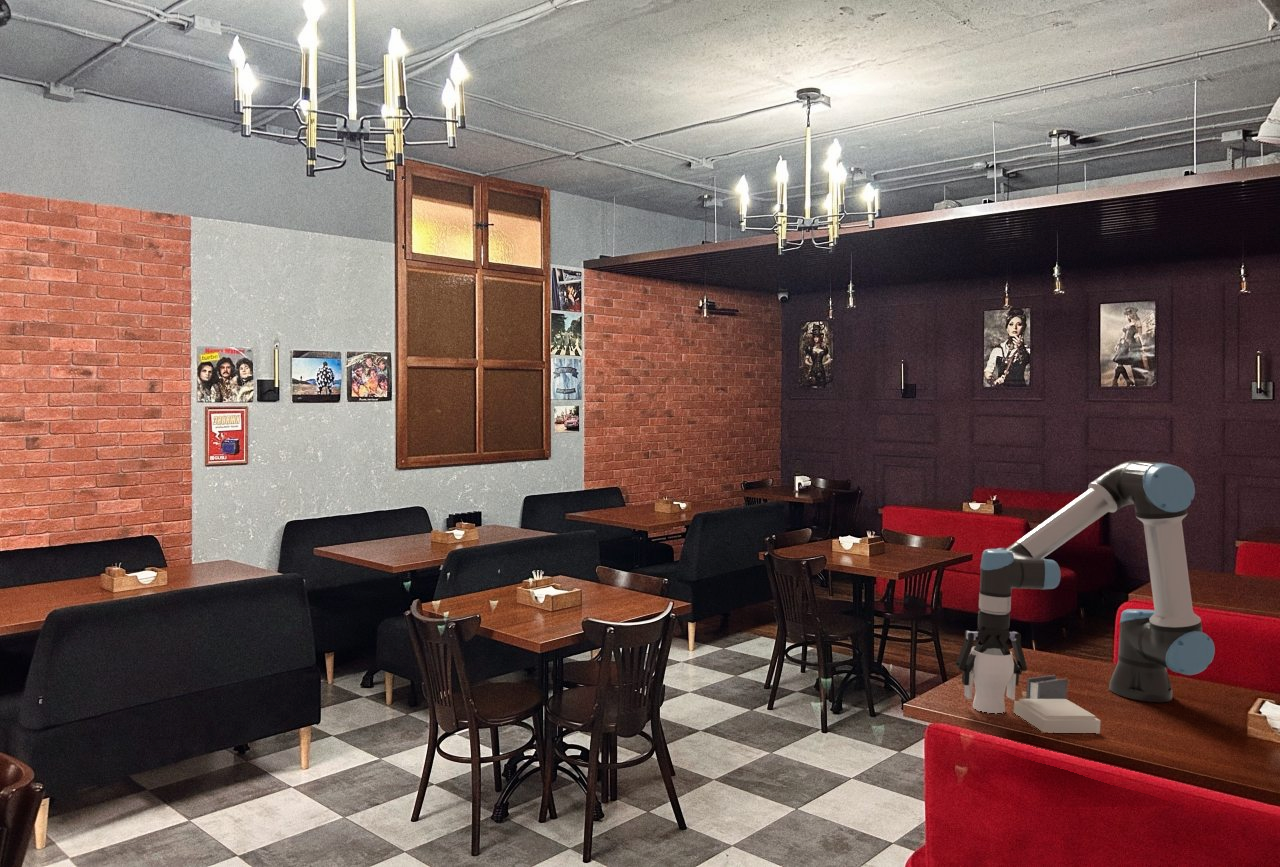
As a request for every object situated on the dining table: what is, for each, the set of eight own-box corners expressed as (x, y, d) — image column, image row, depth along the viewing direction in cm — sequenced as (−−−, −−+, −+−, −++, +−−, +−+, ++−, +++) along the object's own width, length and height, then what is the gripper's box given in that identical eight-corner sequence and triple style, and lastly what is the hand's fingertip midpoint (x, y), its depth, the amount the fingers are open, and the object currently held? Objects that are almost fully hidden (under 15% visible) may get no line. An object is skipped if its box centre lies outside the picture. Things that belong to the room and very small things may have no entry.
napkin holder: (1052, 701, 243) (1054, 674, 243) (1065, 705, 239) (1067, 679, 239) (1025, 705, 238) (1027, 678, 238) (1038, 710, 235) (1040, 683, 235)
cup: (1015, 718, 228) (1018, 658, 227) (969, 713, 230) (973, 654, 229) (1007, 704, 238) (1010, 647, 238) (963, 700, 240) (966, 643, 240)
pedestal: (1066, 713, 233) (1067, 697, 233) (1099, 733, 219) (1100, 717, 219) (1013, 713, 232) (1014, 697, 231) (1043, 733, 218) (1044, 717, 217)
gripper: (1029, 608, 238) (1024, 693, 239) (943, 606, 235) (939, 692, 236) (1045, 615, 231) (1040, 702, 231) (957, 613, 228) (952, 702, 229)
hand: (989, 697), depth 234 cm, fingers closed on cup, 11 cm apart
